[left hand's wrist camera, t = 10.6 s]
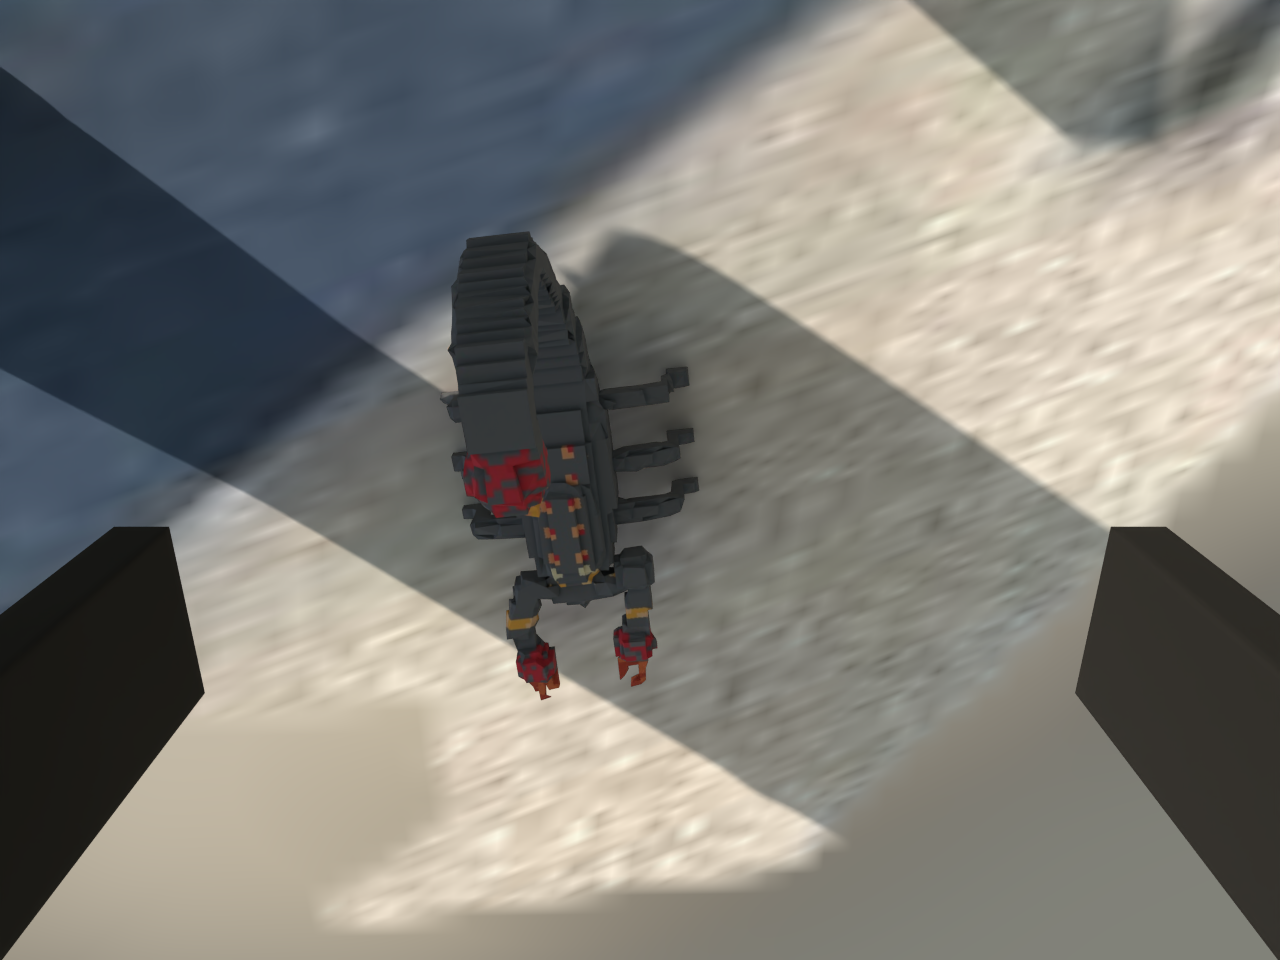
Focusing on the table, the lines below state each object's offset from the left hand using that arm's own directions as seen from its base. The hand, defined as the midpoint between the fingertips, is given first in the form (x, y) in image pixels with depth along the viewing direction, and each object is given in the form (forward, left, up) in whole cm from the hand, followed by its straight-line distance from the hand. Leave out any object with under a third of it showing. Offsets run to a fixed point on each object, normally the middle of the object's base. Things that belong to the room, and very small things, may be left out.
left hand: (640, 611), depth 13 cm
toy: (-7, -10, -36) cm, 38 cm away
